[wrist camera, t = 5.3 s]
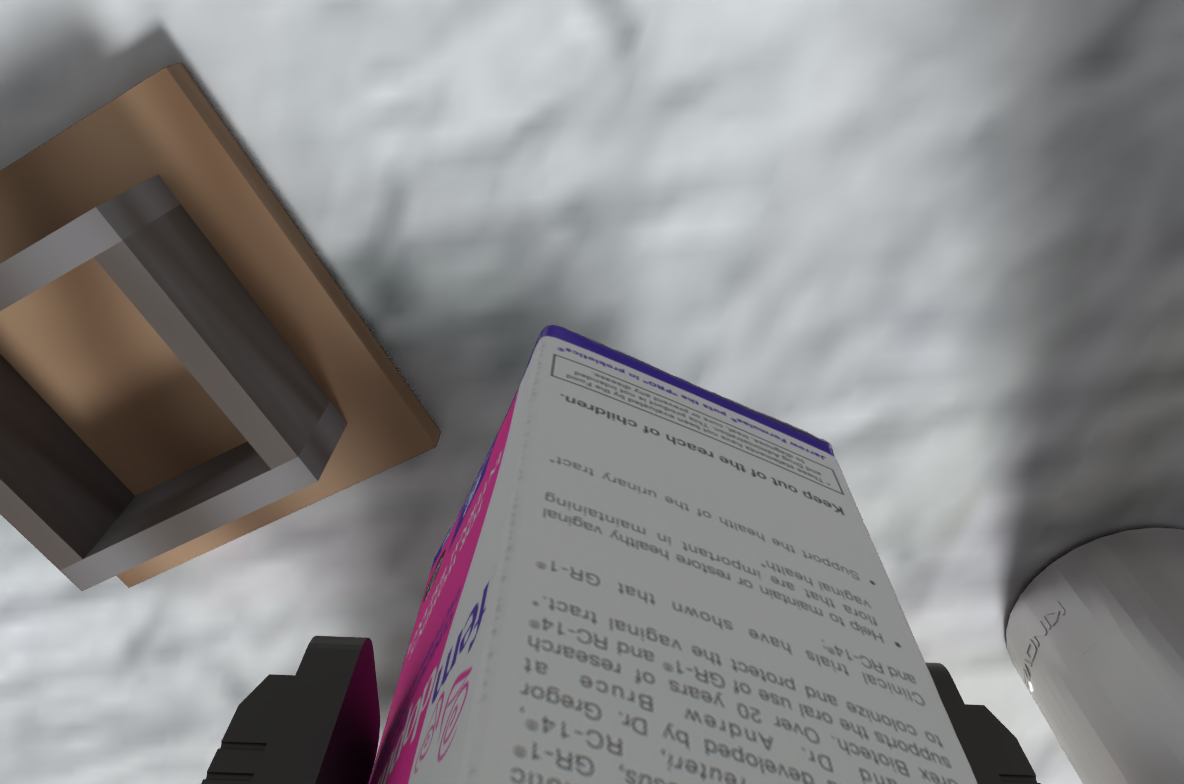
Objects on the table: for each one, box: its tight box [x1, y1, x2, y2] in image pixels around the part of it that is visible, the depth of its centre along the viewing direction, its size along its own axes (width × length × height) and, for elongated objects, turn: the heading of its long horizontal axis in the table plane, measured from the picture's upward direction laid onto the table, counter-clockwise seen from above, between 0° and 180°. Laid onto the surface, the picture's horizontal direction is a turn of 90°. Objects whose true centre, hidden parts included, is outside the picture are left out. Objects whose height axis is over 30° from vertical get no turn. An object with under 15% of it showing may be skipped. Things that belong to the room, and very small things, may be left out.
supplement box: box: [369, 325, 977, 784], centre depth 11 cm, size 6×6×12 cm
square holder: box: [0, 63, 441, 591], centre depth 26 cm, size 14×14×4 cm
